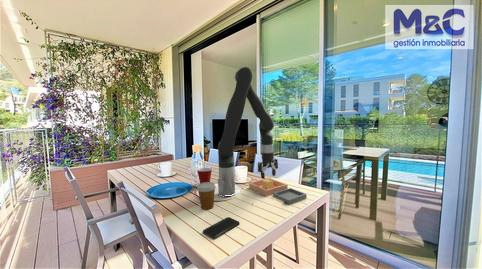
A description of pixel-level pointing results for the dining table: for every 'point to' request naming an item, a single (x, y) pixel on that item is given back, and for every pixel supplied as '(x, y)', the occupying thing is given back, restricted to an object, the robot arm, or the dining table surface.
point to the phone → (220, 228)
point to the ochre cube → (267, 184)
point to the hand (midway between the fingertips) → (268, 177)
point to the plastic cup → (204, 174)
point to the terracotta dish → (277, 187)
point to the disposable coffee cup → (206, 195)
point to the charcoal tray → (290, 195)
